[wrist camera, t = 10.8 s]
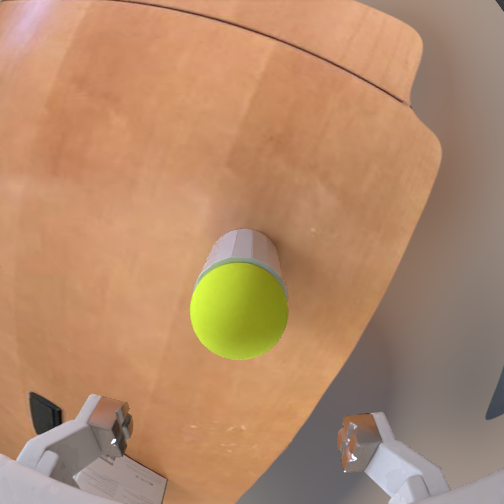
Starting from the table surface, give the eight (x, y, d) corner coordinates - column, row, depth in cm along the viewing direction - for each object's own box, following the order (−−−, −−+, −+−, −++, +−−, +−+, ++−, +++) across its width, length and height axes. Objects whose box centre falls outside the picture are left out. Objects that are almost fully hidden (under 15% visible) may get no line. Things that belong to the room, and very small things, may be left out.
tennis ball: (197, 248, 23) (179, 281, 17) (286, 252, 23) (300, 286, 17) (198, 326, 25) (184, 376, 19) (279, 330, 25) (288, 380, 19)
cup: (210, 226, 30) (192, 254, 21) (281, 230, 30) (291, 259, 21) (209, 292, 32) (194, 339, 23) (276, 295, 32) (283, 343, 23)
